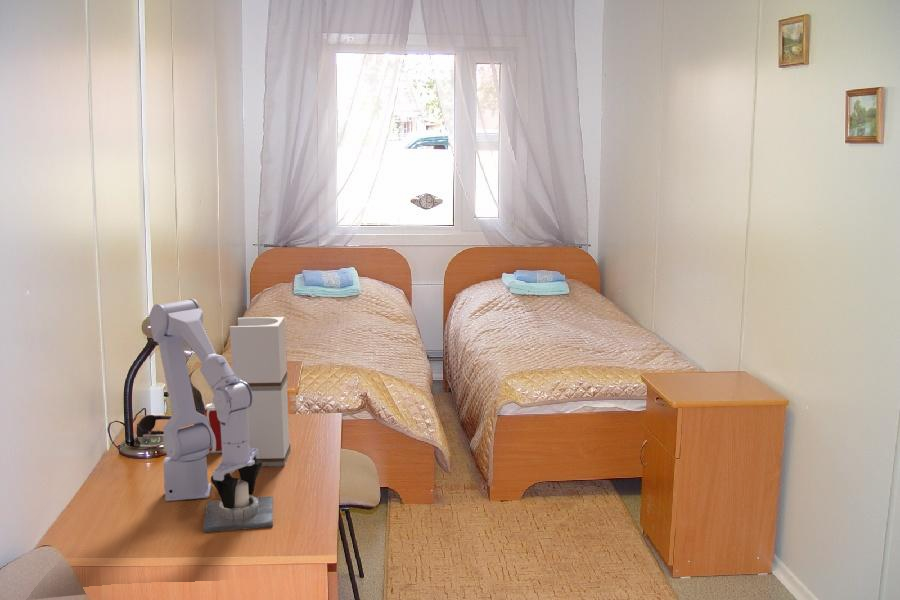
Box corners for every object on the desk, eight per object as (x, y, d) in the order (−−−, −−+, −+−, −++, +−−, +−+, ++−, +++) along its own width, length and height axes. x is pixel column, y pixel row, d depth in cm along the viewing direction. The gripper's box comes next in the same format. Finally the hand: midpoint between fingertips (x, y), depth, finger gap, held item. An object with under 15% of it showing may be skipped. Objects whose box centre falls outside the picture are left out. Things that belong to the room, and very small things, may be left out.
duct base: (203, 532, 191) (202, 518, 191) (207, 505, 205) (207, 492, 204) (272, 526, 194) (272, 512, 193) (272, 500, 207) (272, 487, 207)
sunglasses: (145, 430, 257) (144, 412, 256) (203, 428, 258) (202, 411, 257) (132, 447, 244) (131, 428, 243) (193, 444, 245) (192, 426, 244)
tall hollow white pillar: (290, 451, 238) (284, 316, 232) (284, 466, 228) (278, 326, 222) (245, 451, 238) (238, 317, 232) (237, 467, 228) (229, 326, 221)
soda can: (222, 454, 237) (219, 408, 234) (203, 453, 238) (200, 407, 235) (231, 447, 242) (228, 402, 239) (212, 446, 243) (209, 401, 240)
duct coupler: (241, 516, 196) (239, 488, 195) (223, 513, 198) (221, 485, 197) (253, 508, 200) (252, 481, 199) (236, 505, 202) (234, 478, 201)
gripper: (232, 453, 188) (236, 516, 191) (269, 430, 202) (272, 490, 204) (202, 449, 191) (206, 512, 193) (241, 427, 204) (244, 486, 206)
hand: (238, 500), depth 199 cm, fingers open, 7 cm apart
